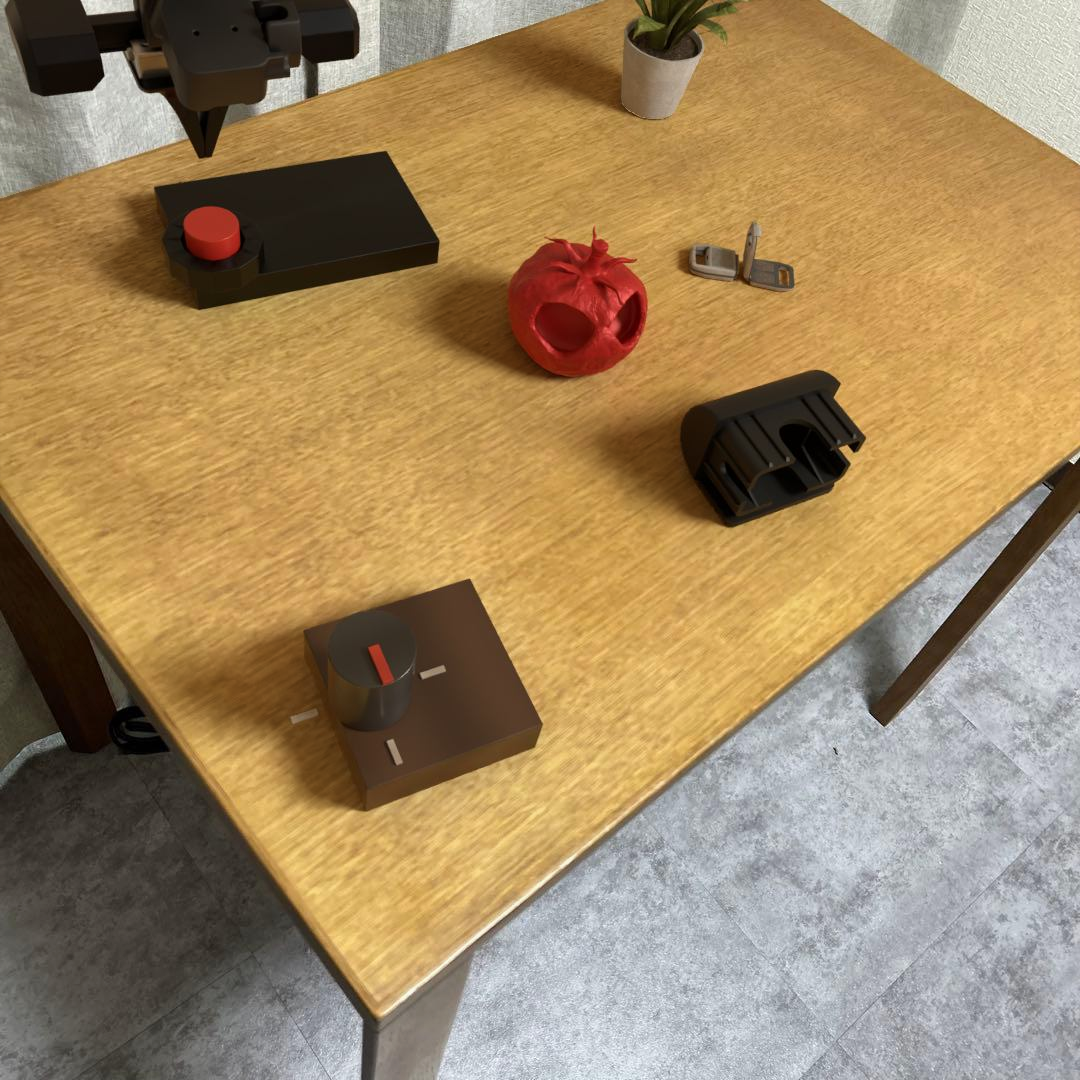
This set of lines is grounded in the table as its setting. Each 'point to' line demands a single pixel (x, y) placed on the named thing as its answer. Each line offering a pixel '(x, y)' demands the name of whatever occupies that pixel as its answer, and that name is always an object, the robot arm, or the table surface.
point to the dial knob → (371, 670)
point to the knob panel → (435, 700)
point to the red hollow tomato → (576, 307)
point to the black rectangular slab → (299, 228)
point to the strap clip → (727, 264)
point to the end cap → (769, 446)
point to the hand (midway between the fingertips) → (203, 154)
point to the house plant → (665, 52)
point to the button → (212, 233)
